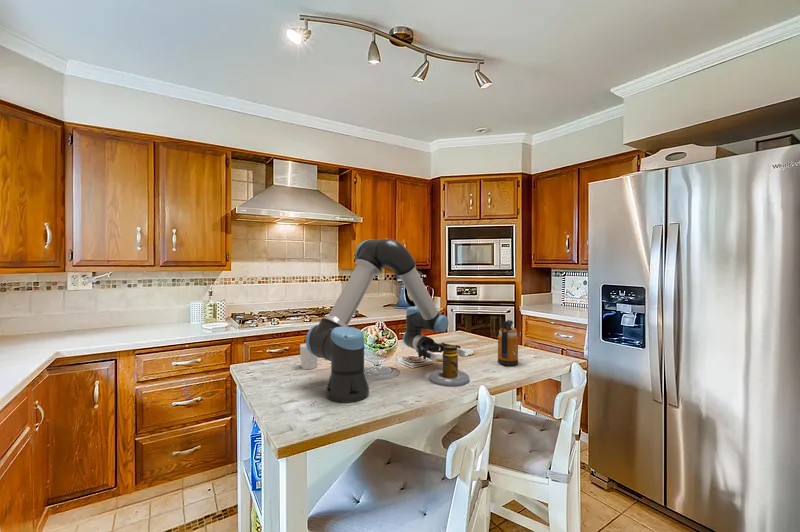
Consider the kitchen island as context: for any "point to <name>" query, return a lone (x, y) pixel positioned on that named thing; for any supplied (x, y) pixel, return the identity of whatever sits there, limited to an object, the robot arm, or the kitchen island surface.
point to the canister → (508, 344)
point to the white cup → (307, 358)
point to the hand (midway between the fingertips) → (450, 356)
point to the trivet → (449, 382)
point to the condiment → (449, 363)
